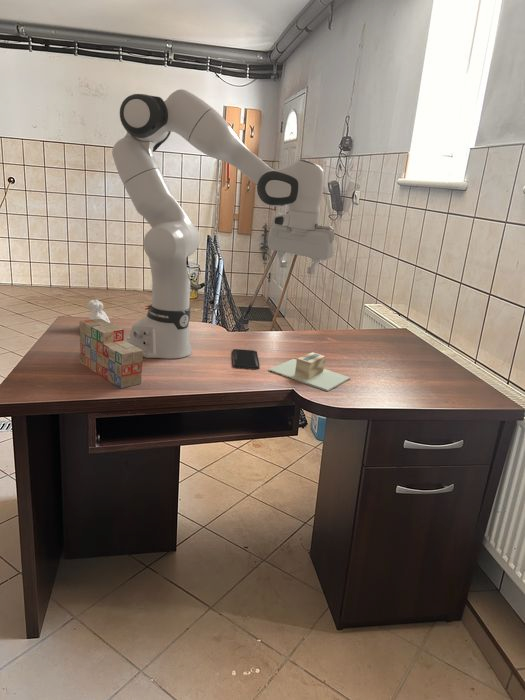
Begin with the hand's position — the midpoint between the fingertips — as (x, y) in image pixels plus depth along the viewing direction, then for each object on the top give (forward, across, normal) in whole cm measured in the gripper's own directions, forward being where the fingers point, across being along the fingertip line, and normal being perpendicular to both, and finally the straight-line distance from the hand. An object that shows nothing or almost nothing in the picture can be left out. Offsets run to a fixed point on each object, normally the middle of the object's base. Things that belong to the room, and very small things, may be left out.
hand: (296, 270), depth 150 cm
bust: (+29, +59, +23) cm, 70 cm away
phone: (+30, +10, +7) cm, 32 cm away
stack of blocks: (+30, +27, +44) cm, 60 cm away
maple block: (+28, -10, +2) cm, 30 cm away
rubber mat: (+29, -10, +2) cm, 31 cm away
